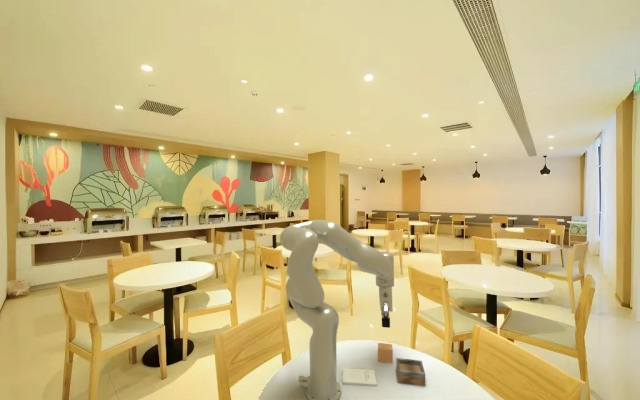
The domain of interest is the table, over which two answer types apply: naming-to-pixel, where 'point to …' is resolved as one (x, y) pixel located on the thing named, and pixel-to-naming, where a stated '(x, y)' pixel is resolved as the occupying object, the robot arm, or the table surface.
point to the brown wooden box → (410, 372)
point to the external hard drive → (359, 377)
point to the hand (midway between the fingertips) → (385, 321)
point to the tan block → (385, 353)
